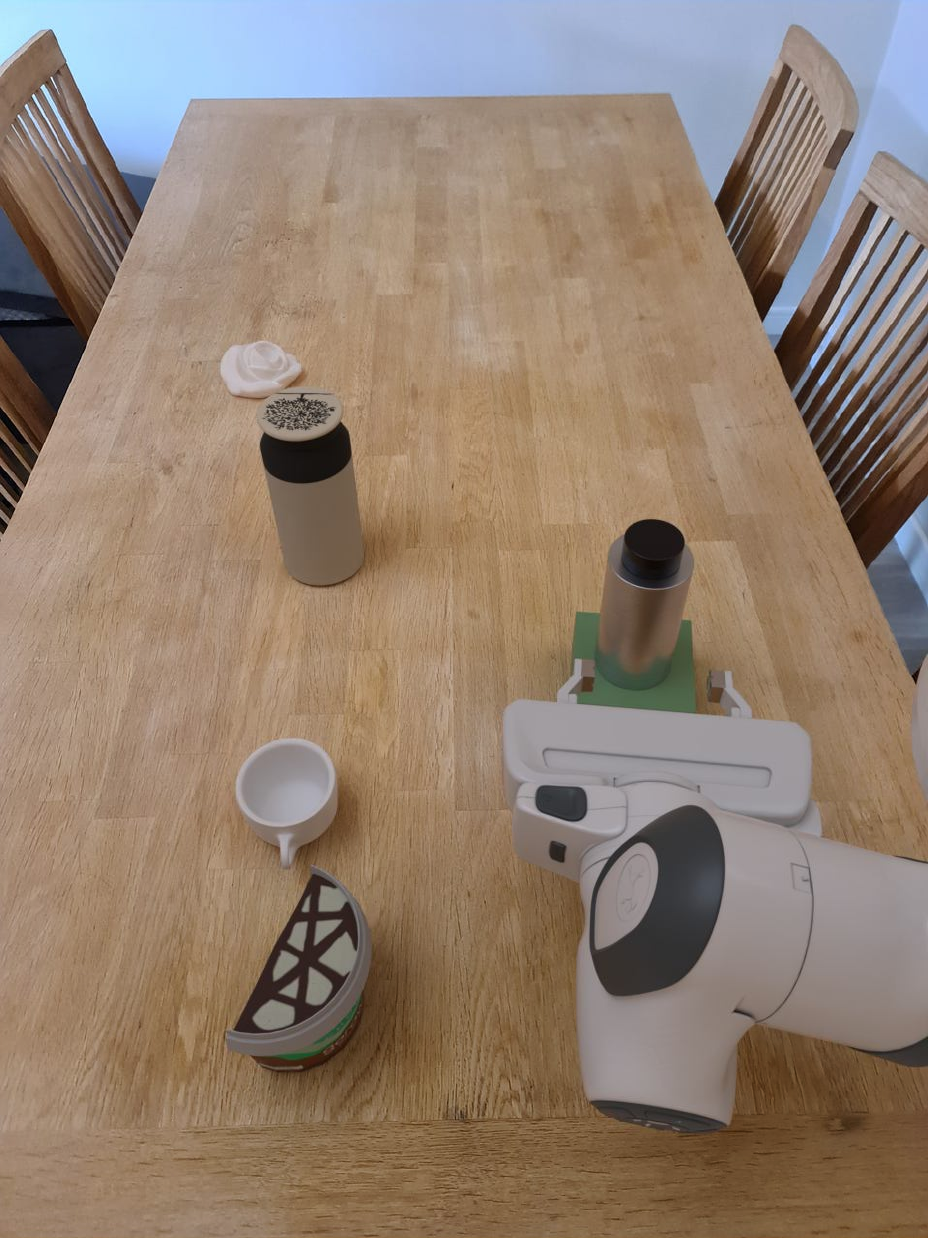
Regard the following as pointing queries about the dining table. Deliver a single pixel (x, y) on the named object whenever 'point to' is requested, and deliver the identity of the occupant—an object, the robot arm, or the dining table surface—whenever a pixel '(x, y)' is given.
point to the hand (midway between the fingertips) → (651, 669)
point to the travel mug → (311, 484)
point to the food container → (309, 983)
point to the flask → (642, 604)
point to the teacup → (288, 794)
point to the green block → (665, 696)
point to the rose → (258, 369)
